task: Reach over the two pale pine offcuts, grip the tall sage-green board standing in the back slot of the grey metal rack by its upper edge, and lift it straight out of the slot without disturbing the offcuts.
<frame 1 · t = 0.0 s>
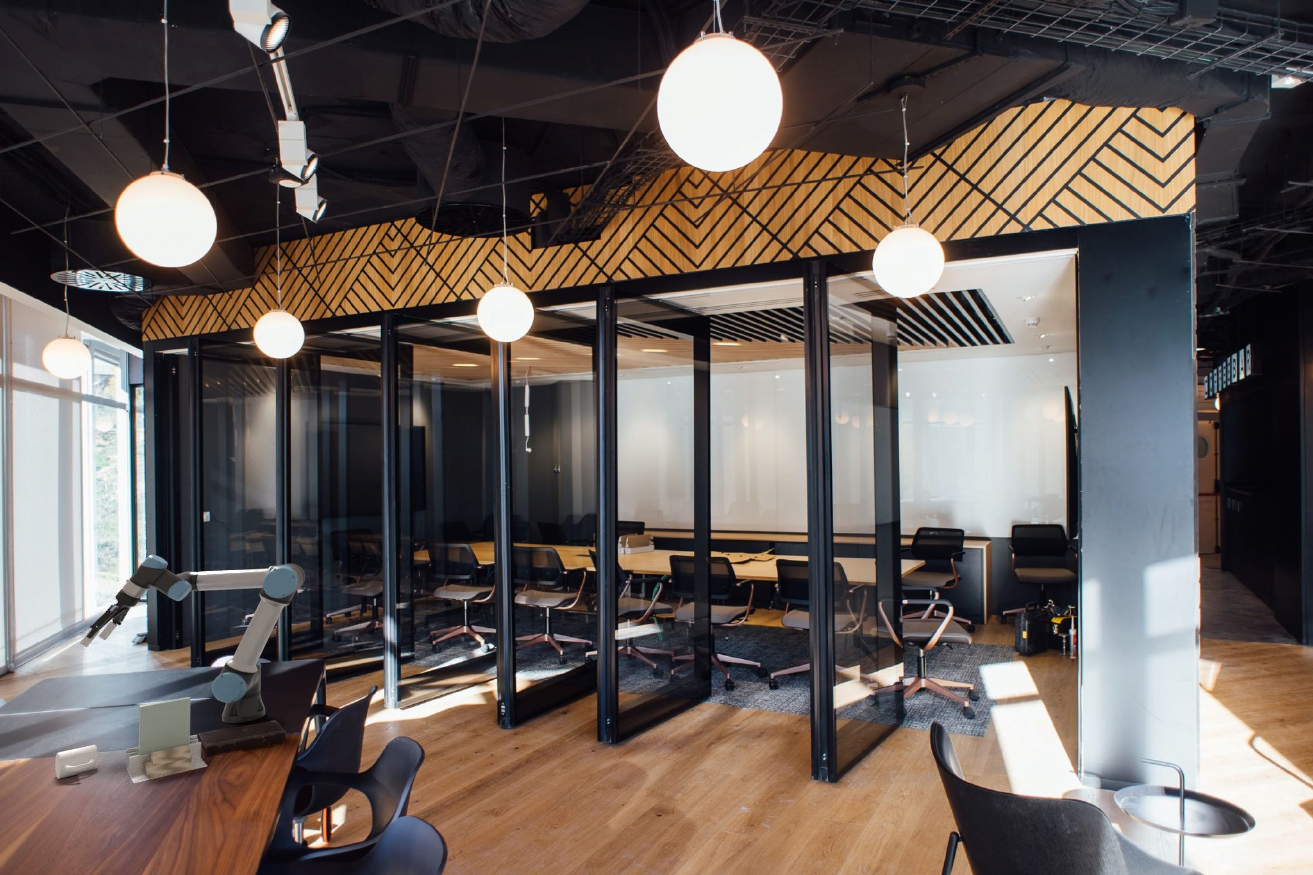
hand: (92, 641, 281), 36 cm above the table, tool tilted 35°, fingers open, 13 cm apart
rack: (166, 770, 246), on the table
diary: (242, 746, 270), on the table
offcut lower: (168, 769, 243), point 1 cm above the table, touching offcut upper, rack
offcut upper: (170, 760, 244), point 4 cm above the table, touching offcut lower
mug: (77, 776, 243), on the table
board: (164, 763, 249), point 1 cm above the table, touching rack
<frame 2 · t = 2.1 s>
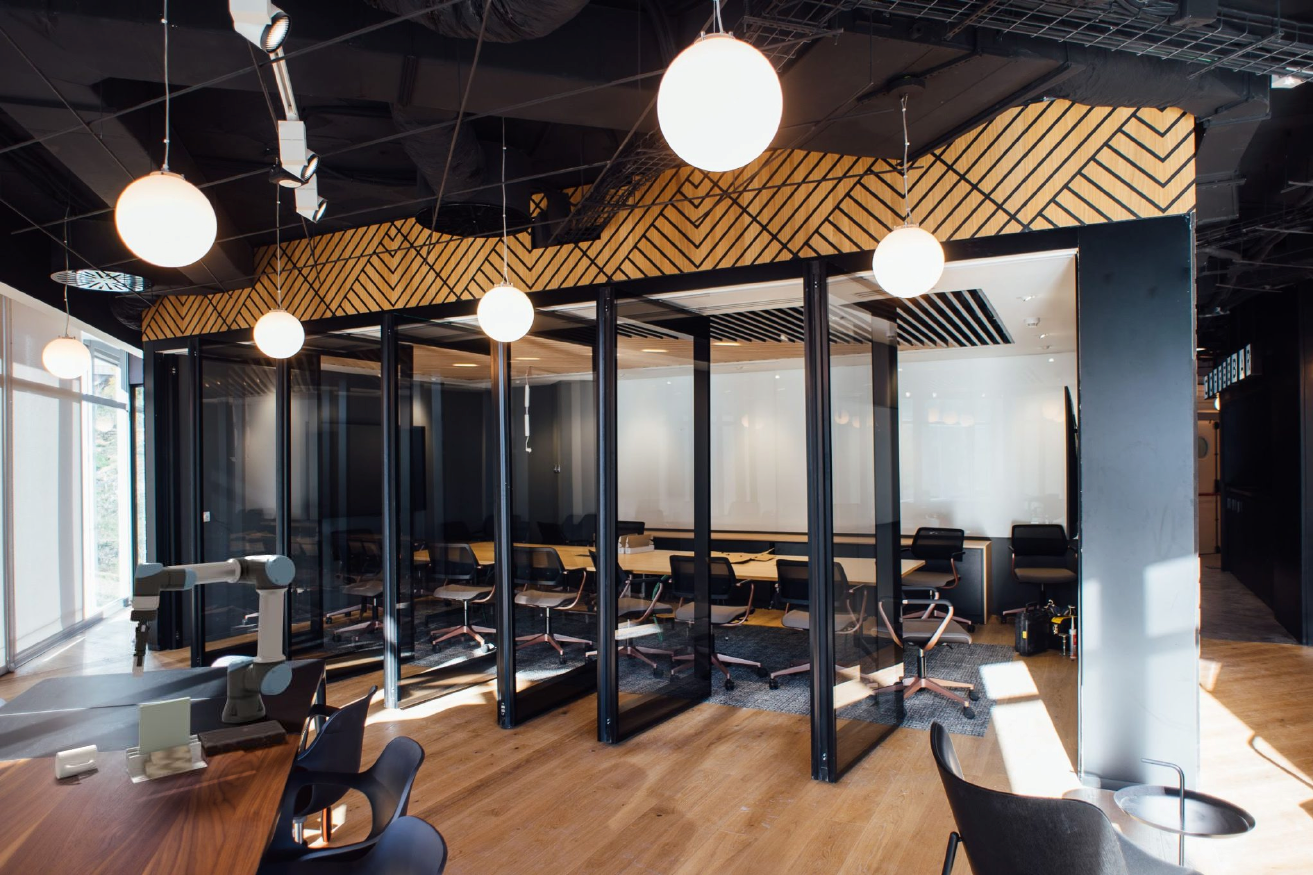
hand: (137, 674, 252), 30 cm above the table, tool pointing down, fingers open, 13 cm apart
nothing on the table moved.
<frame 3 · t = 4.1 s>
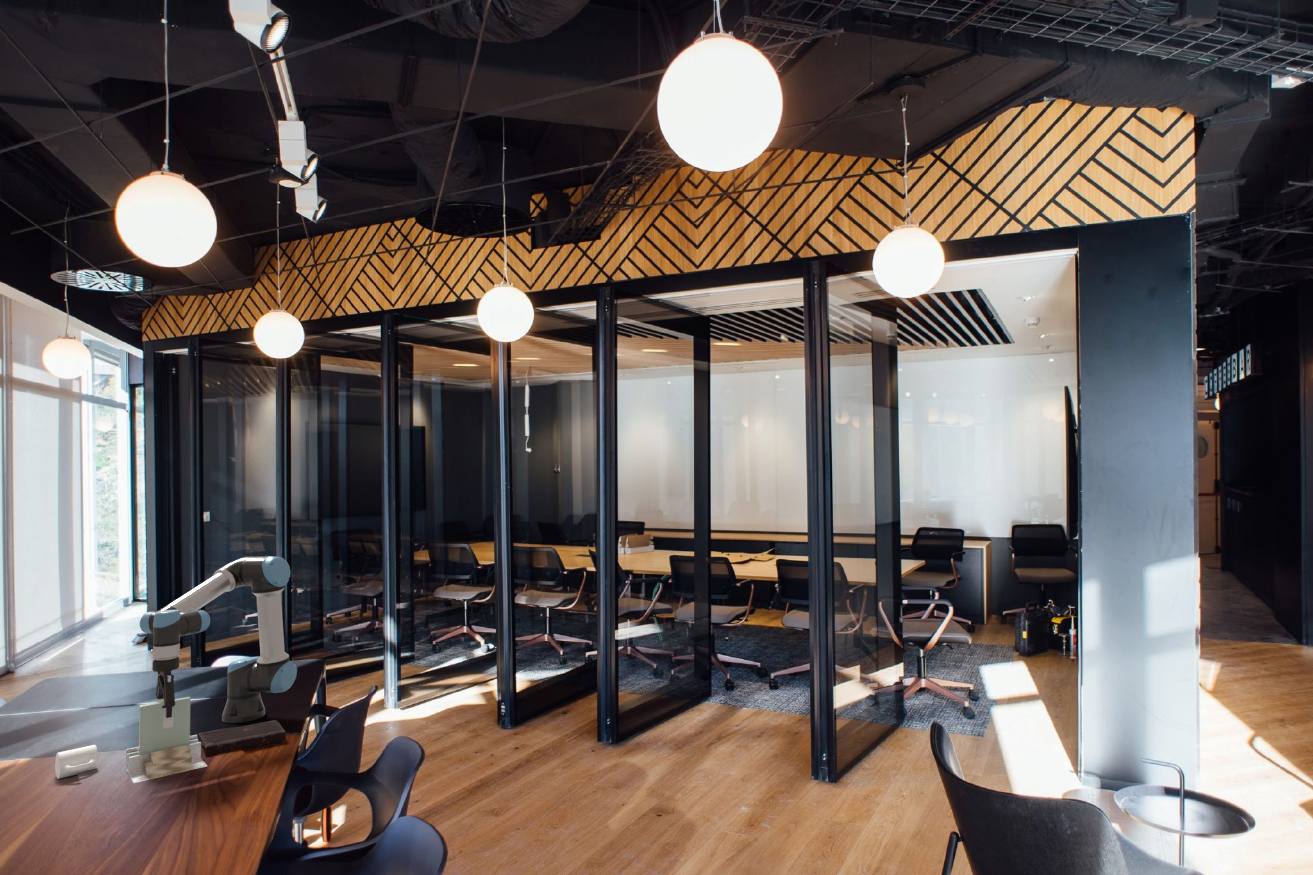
hand: (164, 723, 250), 14 cm above the table, tool pointing down, fingers open, 13 cm apart
nothing on the table moved.
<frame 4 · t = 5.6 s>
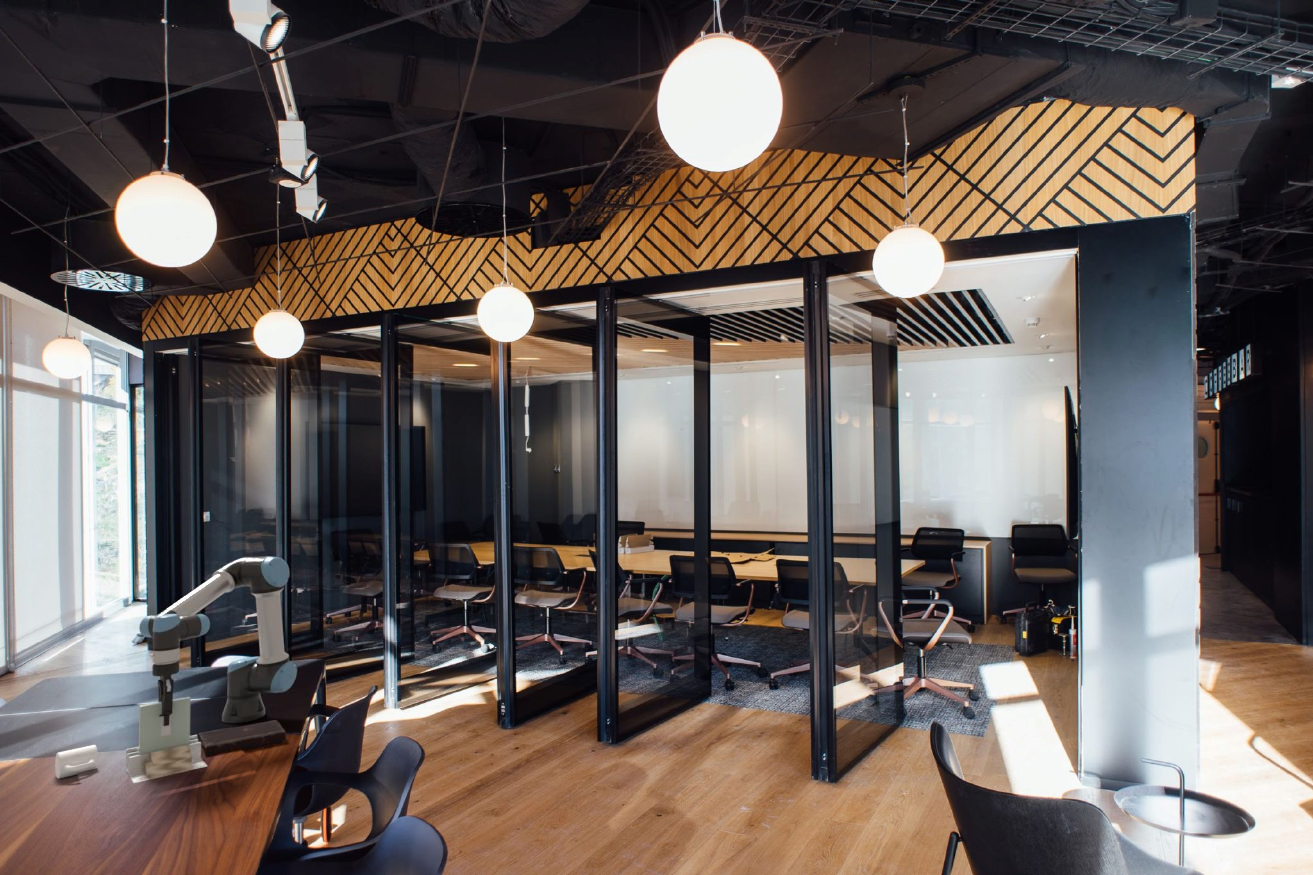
hand: (164, 733, 250), 11 cm above the table, tool pointing down, fingers closed on board, 2 cm apart
board: (164, 763, 249), point 1 cm above the table, touching gripper, rack
everything else where it was.
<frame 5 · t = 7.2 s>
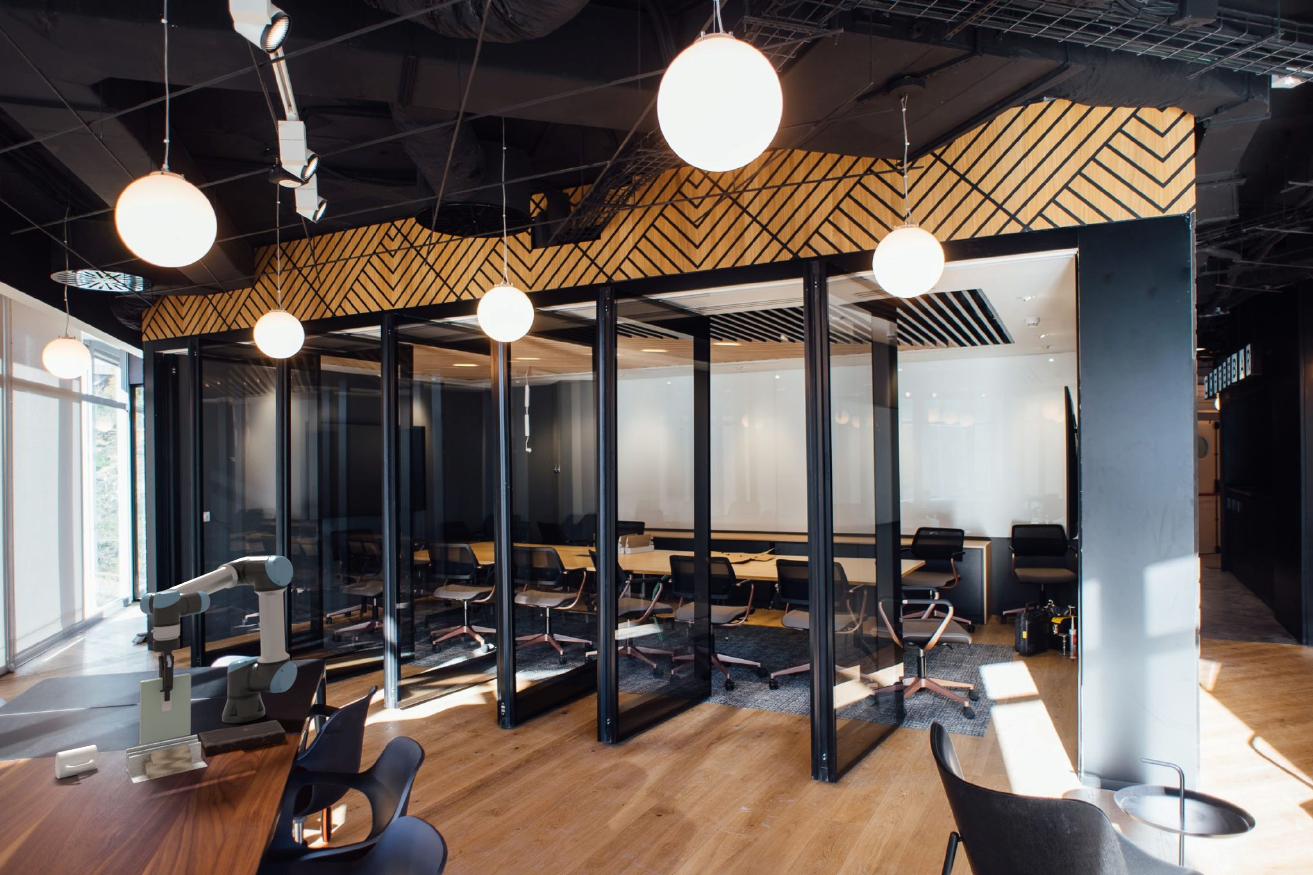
hand: (165, 709, 251), 18 cm above the table, tool pointing down, fingers closed on board, 2 cm apart
board: (165, 738, 250), point 9 cm above the table, touching gripper
everything else where it was.
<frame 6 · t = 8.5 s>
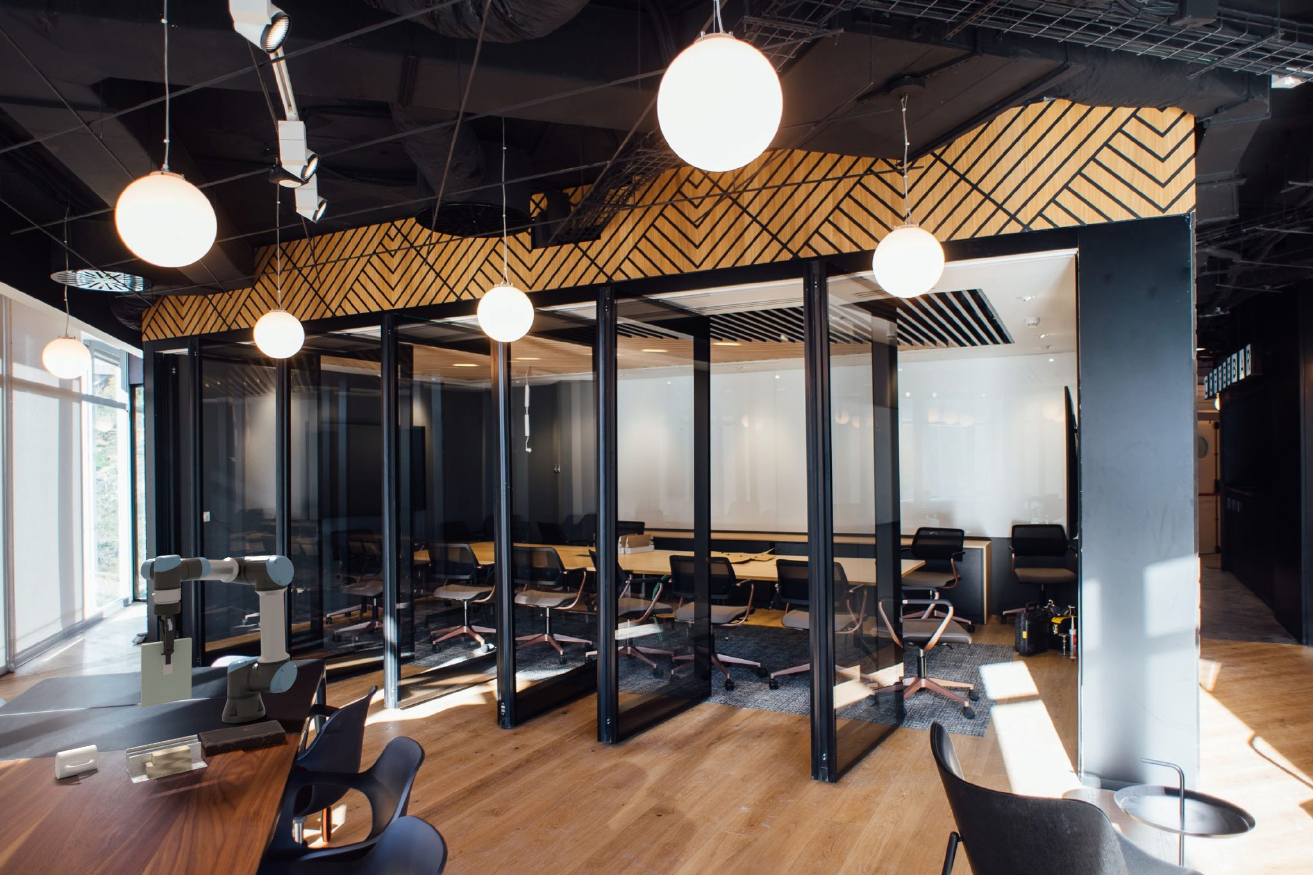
hand: (166, 673, 252), 30 cm above the table, tool pointing down, fingers closed on board, 2 cm apart
board: (166, 702, 251), point 21 cm above the table, touching gripper
everything else where it was.
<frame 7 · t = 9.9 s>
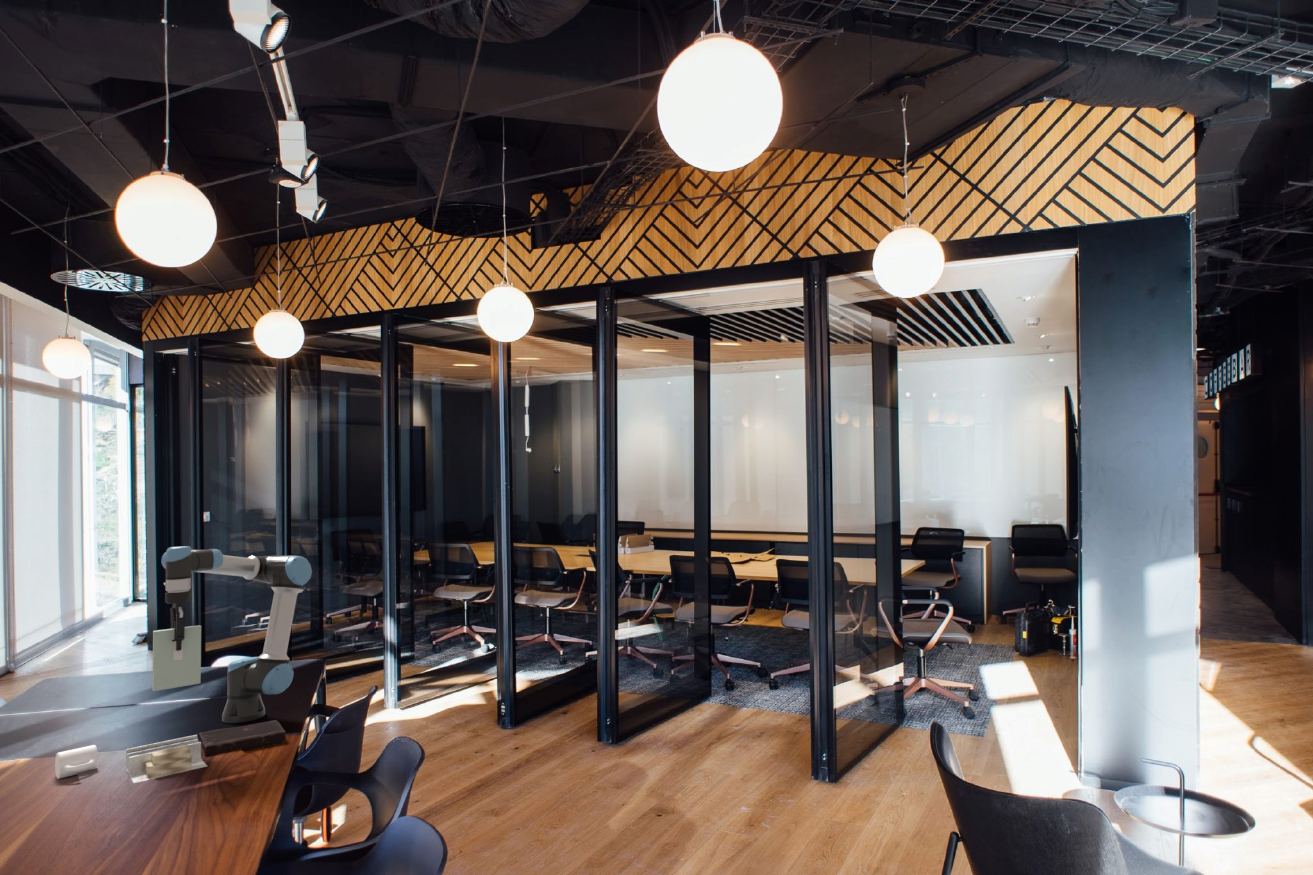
hand: (177, 658, 263), 32 cm above the table, tool pointing down, fingers closed on board, 2 cm apart
board: (176, 686, 263), point 23 cm above the table, touching gripper
everything else where it was.
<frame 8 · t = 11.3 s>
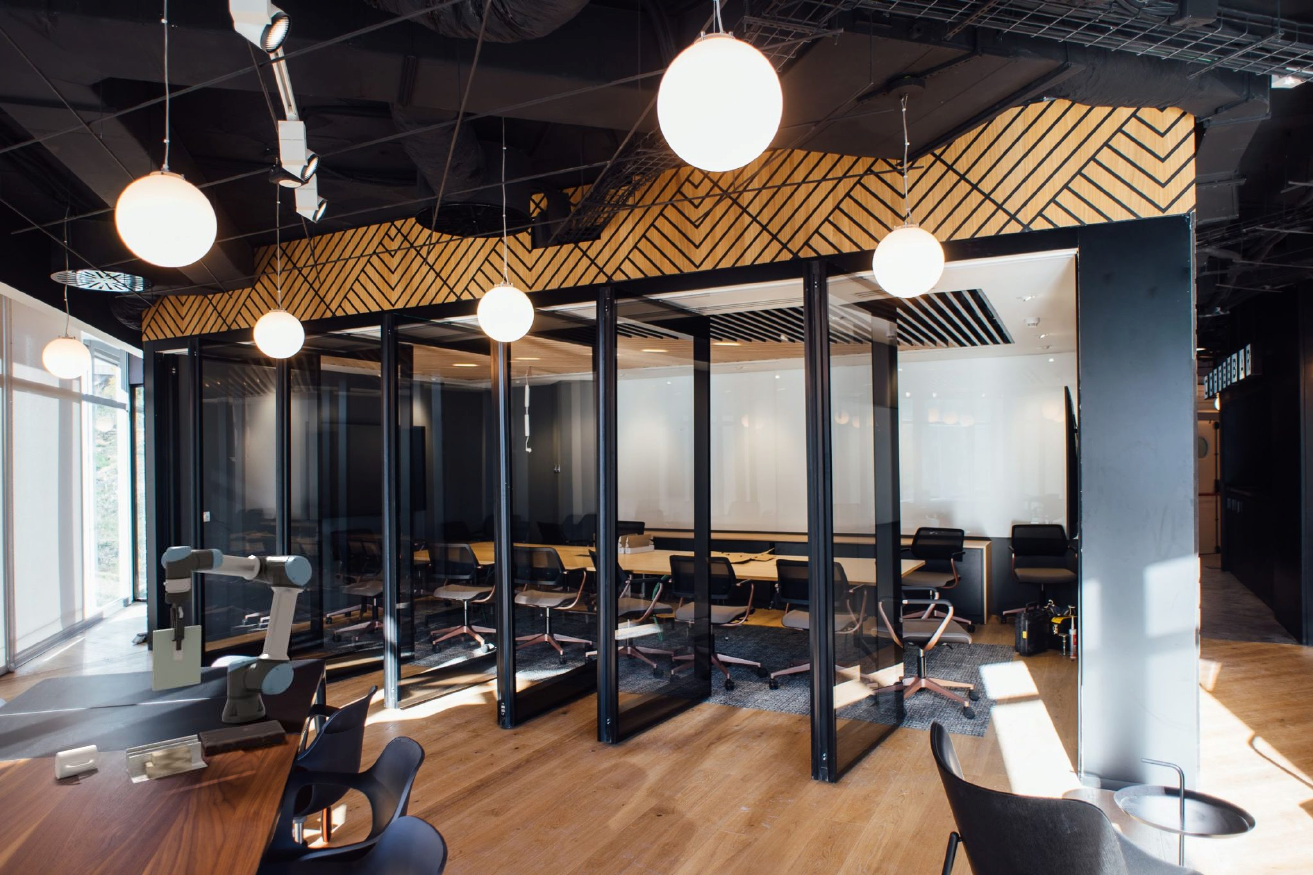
hand: (177, 658, 263), 32 cm above the table, tool pointing down, fingers closed on board, 2 cm apart
board: (176, 686, 263), point 23 cm above the table, touching gripper
everything else where it was.
at the end: board point 23.0 cm above the table; offcut upper moved 0.0 cm from its start; offcut lower moved 0.0 cm from its start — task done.
